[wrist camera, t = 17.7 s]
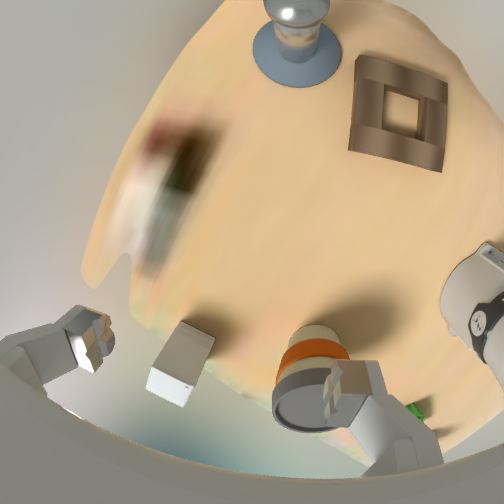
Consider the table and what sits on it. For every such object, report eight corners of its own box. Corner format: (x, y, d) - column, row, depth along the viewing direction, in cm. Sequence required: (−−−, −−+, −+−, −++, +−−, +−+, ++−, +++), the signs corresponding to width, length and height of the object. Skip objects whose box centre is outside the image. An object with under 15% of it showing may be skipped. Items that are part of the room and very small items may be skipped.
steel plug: (319, 33, 27) (329, -18, 14) (317, 69, 29) (329, 26, 17) (276, 29, 28) (265, -24, 15) (272, 64, 30) (260, 20, 17)
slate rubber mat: (340, 24, 27) (341, 21, 26) (337, 93, 31) (338, 92, 30) (257, 15, 28) (256, 13, 27) (249, 83, 32) (248, 82, 31)
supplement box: (180, 319, 48) (151, 365, 36) (216, 337, 48) (196, 387, 36) (170, 344, 50) (143, 389, 39) (204, 361, 51) (183, 409, 39)
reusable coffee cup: (279, 369, 48) (271, 433, 35) (277, 316, 44) (268, 382, 30) (344, 367, 46) (353, 431, 32) (352, 314, 42) (370, 379, 28)
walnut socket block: (438, 86, 27) (447, 83, 24) (432, 170, 32) (441, 172, 29) (355, 60, 29) (359, 54, 26) (348, 150, 34) (352, 150, 31)
